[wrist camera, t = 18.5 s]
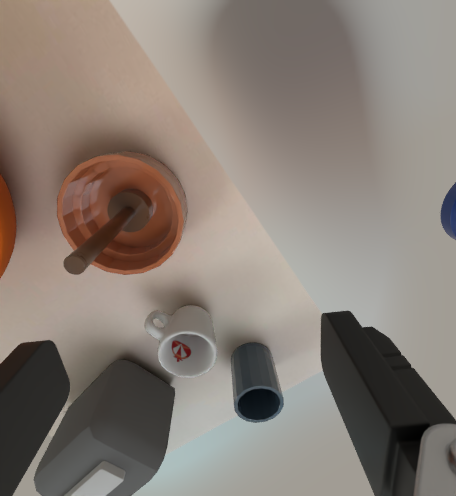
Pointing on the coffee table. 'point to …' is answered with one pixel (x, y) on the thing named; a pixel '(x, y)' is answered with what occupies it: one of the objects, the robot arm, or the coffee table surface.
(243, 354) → the utensil crock
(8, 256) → the bowl
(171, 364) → the cup
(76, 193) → the mixing bowl
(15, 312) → the coffee table surface
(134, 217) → the wooden plunger
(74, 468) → the alarm clock
